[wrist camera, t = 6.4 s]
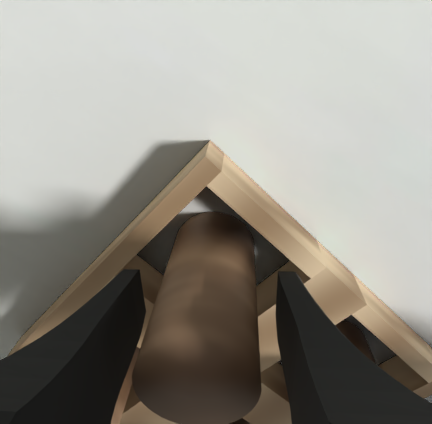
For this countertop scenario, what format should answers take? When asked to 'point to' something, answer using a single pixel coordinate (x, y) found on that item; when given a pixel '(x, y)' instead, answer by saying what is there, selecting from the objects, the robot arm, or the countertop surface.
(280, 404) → the stool seat
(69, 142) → the countertop surface
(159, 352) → the loose leg
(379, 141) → the countertop surface
